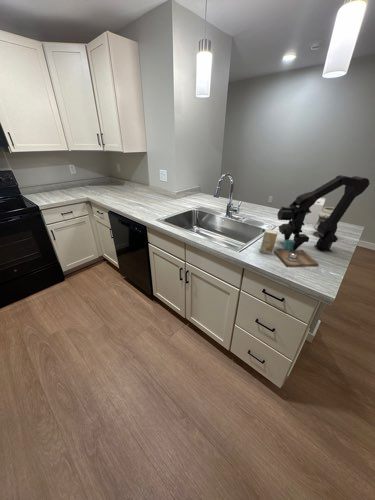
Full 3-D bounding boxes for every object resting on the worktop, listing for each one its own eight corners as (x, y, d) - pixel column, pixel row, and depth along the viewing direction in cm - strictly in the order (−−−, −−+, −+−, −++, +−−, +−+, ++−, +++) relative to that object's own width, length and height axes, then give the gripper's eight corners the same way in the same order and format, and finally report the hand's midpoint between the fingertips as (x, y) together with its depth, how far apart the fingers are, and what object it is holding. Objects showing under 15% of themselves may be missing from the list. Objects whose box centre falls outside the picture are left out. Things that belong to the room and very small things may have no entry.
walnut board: (301, 251, 110) (302, 249, 109) (318, 265, 98) (318, 263, 97) (273, 252, 109) (274, 250, 108) (286, 266, 97) (287, 264, 96)
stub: (294, 256, 103) (295, 251, 102) (299, 261, 99) (301, 256, 97) (284, 256, 103) (285, 251, 101) (289, 261, 98) (291, 256, 97)
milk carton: (306, 220, 153) (314, 195, 143) (317, 222, 149) (326, 197, 140) (305, 223, 147) (313, 197, 138) (316, 225, 144) (325, 199, 135)
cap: (291, 245, 116) (293, 238, 114) (296, 250, 111) (299, 243, 109) (281, 245, 116) (283, 238, 113) (286, 250, 111) (288, 243, 108)
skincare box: (259, 252, 108) (264, 231, 102) (260, 248, 112) (264, 228, 106) (272, 254, 107) (277, 233, 101) (272, 250, 110) (277, 230, 104)
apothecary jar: (322, 231, 135) (332, 205, 126) (337, 239, 125) (349, 211, 116) (306, 232, 133) (315, 206, 124) (320, 240, 123) (330, 212, 114)
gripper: (275, 214, 113) (269, 238, 120) (292, 227, 96) (284, 254, 104) (293, 214, 113) (286, 238, 121) (314, 227, 97) (304, 254, 105)
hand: (289, 246), depth 113 cm, fingers open, 9 cm apart
